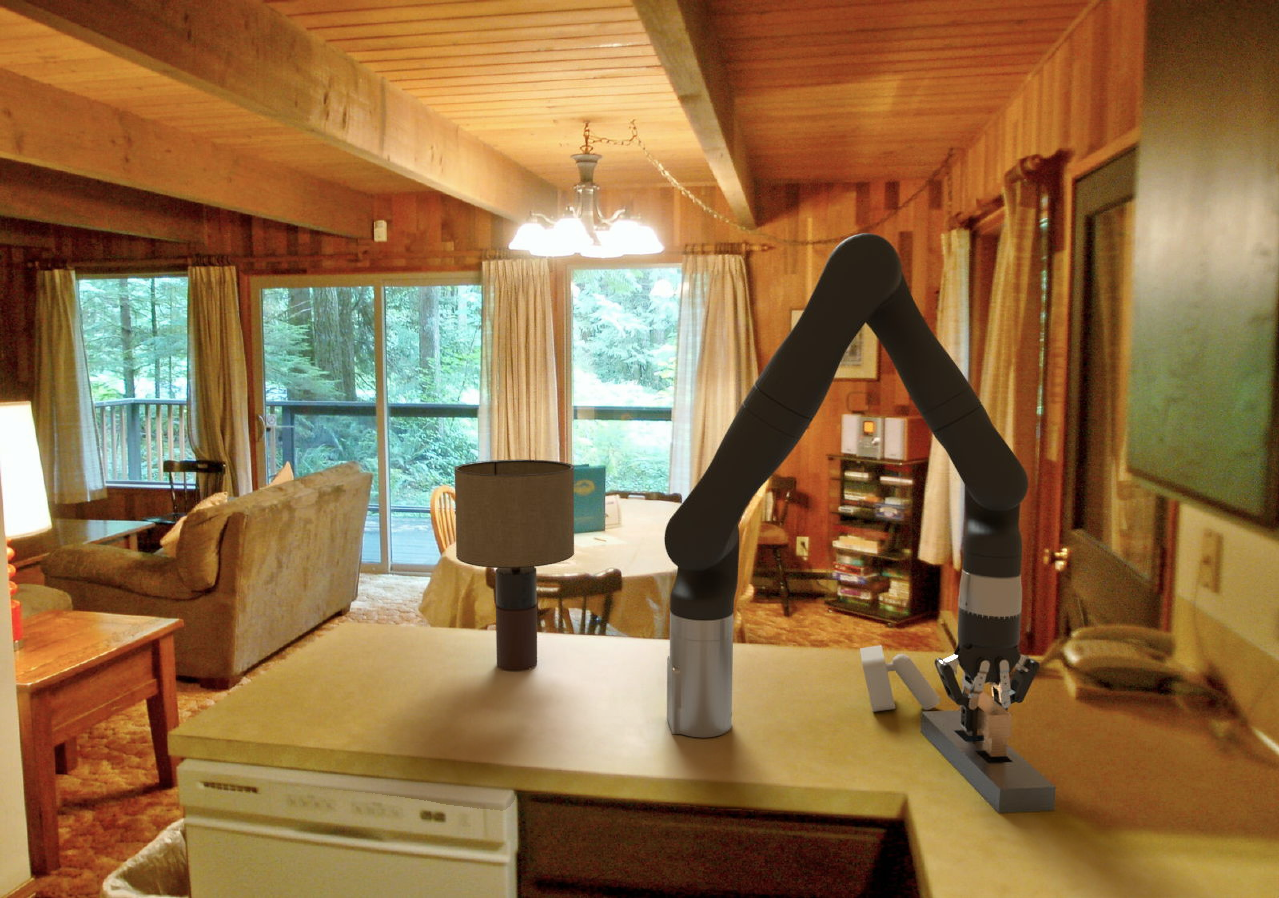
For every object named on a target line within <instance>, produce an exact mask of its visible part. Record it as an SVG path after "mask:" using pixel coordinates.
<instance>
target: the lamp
mask: <svg viewBox="0 0 1279 898" xmlns="http://www.w3.org/2000/svg"><path fill="white" fill-rule="evenodd" d="M574 473H575V465H573V464H571V463H568V462H564V461H555V460H545V459H498V460H496V459H495V460H484V461H483V460H481V461H474V462H467V463H462V464H459V465H456V466H455V467H454V500H455V501H454V505H455V507H454V509H455V510H454V511H455V552H456V555H455V556H456V557H455V558H456V559H457V560H458V561H459V562H462V563H464V564H467V565H472V566H476V567H483V568H491V569H492V568H493V569H495V576H494V577H495V624H496V625H495V637H496V638H495V639H496V640H495V641H496V643H495V644H496V666H497V667H498V668H499V669H501V670H503V671H507V672H521V671H527V670H530V669H533V668H534V667H536V666H537V663H538V608H537V607H538V605H537V604H538V603H537V601H538V599H537V596H538V595H537V594H538V593H537V589H538V588H537V585H538V584H537V580H538V579H537V568H536V567H543V566H549V565H554V564H558V563H561V562H564V561H567V560H569V559H571V558H572V557H573V556H574V555H575V482H574V481H575V476H574V475H575V474H574Z"/></svg>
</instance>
